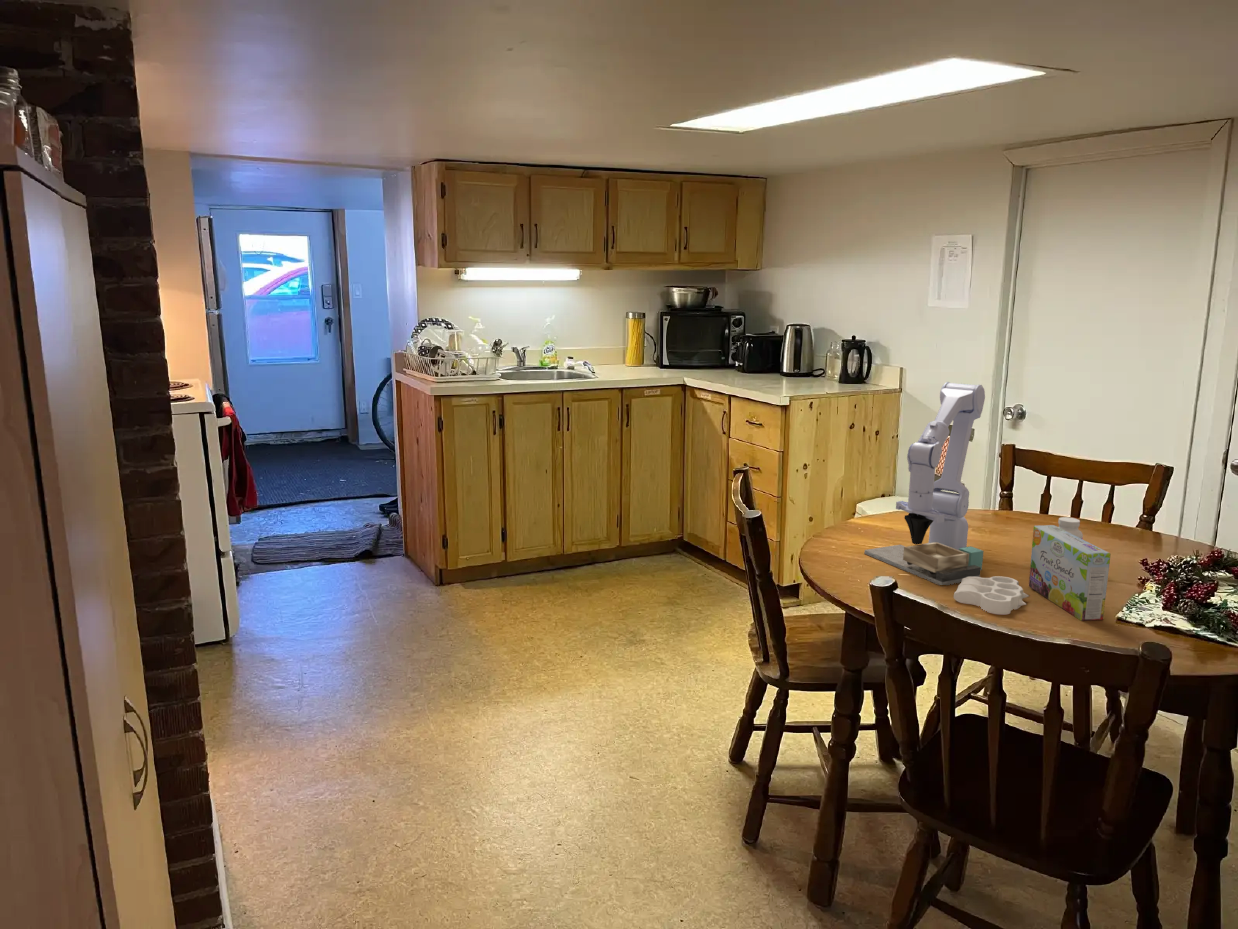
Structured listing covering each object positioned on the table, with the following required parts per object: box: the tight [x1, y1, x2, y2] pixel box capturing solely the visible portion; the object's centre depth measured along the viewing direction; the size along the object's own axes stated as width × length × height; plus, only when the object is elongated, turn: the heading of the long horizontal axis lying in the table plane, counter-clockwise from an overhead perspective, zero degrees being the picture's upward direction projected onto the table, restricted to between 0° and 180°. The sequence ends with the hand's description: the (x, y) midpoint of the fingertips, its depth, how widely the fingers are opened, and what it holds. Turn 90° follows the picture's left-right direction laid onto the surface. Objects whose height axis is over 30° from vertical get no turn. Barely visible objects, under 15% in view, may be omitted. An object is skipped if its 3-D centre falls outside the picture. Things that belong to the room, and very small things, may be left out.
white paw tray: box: [953, 575, 1030, 616], centre depth 196 cm, size 3×18×15 cm
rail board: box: [864, 544, 982, 586], centre depth 218 cm, size 12×27×3 cm, turn 25°
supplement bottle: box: [1057, 516, 1084, 540], centre depth 215 cm, size 7×7×13 cm
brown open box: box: [903, 542, 969, 574], centre depth 213 cm, size 11×11×4 cm
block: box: [959, 546, 984, 571], centre depth 216 cm, size 4×4×5 cm
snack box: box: [1028, 524, 1111, 622], centre depth 193 cm, size 21×6×15 cm, turn 5°
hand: (917, 543), depth 219 cm, fingers closed
